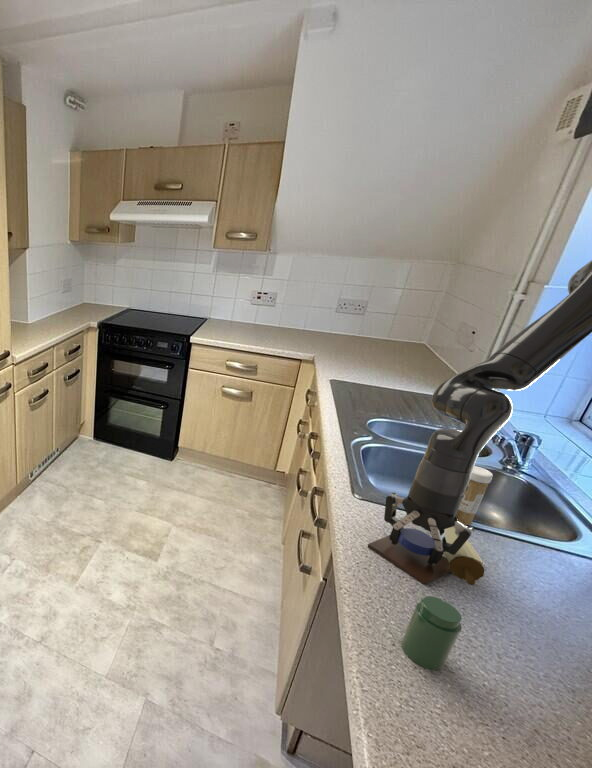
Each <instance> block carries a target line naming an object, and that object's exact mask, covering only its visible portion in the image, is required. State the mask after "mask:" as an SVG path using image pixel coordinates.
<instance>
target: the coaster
mask: <svg viewBox="0 0 592 768" xmlns="http://www.w3.org/2000/svg"><path fill="white" fill-rule="evenodd" d="M367 548H368V549H370V551H373V552H374V553H376V554H377V555H379V556H380V557H381V558H383V559H384V560H386V561H387V562H389V563H391V564H392V565H394V566H395V567H397V568H398V569H400V570H401V571H403V572H404V573H405V574H407V575H409V576H410V577H411V578H413V579H414V580H416V581H418V582H419V583H421V584H422V585H423V586H427V585H429V584H430V583H433V582H434V581H436V580H438V579H440V578H441V577H444V576H445V575H447V574H449V573H452V572H451V570H450V568H449V565H450V564H449V562H448V560H447V558H446V556H445V555H442V558H441V560H440V561H439V562H438V563H437V564H435V563H433V564H432V565H431V564H429V563H427V562H428V559H429V557H430V555H429V556H424V555H419V554H416V553H413V552H411V551H409V550H408V549H406V548H405V547H403V546H402V545H401V544H400V543H399V542H398V544H396V545H394V544H392V541H391V540H390V534H388V535H386V536H384V537H381V538H378V539H377V540H373V541H371V542H369V543H368V544H367Z"/></svg>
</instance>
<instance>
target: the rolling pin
mask: <svg viewBox="0 0 592 768" xmlns="http://www.w3.org/2000/svg"><path fill="white" fill-rule="evenodd" d="M457 522H458V521H457ZM455 531H456V530H455V528H454V527H450V528H447V529H446V539H447V543H450V544H453V542H454V541H455V540H456V539H457V537H458V536H457V535H456V534H455ZM443 555H444V557H445V558H447V560H448V562H449V564H450V565H449V568H450V570H451V572H450V573H452V575H454V576H455V577H456V578H458V579H459V580H463V581H465V583H467V584H468V585H470V586H474V585H475V584H476V581H478V580H480V579H482V578H483V577H484V576H485V572H486V571H485V570H486V569H488V567H487V565H486V564H485V562H484V561H483V559H482V558H481V557H480V555H479V553H478V552H477V551H476V549H475V548H474V547H473V545H472V543H471V542H470V540H469V539H468V540H467V541H466V542H465V543H464V545H463V546H462V547H461V548H460V549H459V550H458V552H457V553H456V554H455V555H452V554H450V553H449V552H444V553H443Z"/></svg>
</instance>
